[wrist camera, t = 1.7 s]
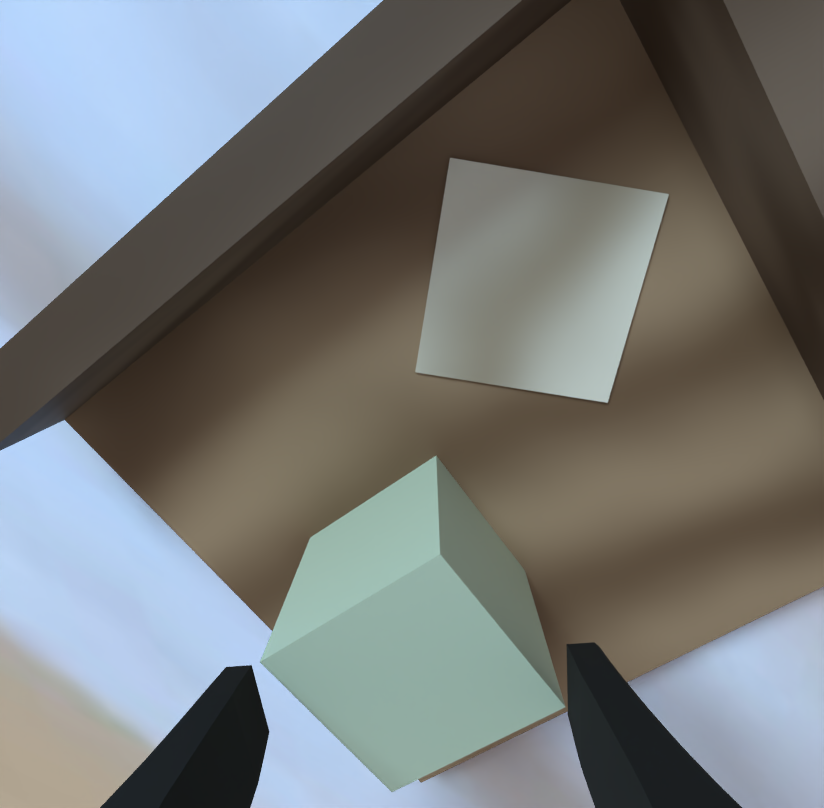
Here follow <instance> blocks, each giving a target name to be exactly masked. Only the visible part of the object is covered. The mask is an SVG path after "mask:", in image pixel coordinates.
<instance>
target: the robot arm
mask: <svg viewBox="0 0 824 808" xmlns="http://www.w3.org/2000/svg"><path fill="white" fill-rule="evenodd" d="M566 646H567V694H568V717H569V721H570V725H571V729H572V733H573V737H574V741H575V745H576V749H577V753H578V757H579V760H580V764H581V768H582V771H583V774H584V777H585V779H586V782H587V785H588V788H589V791H590V794H591V797H592V800H593V802H594V805H595V808H742V807H741V806H740V805H739V804H738V803H737V802H736V801H735V800H734V799H733V798H732V797H731V796H730V795H729V794H727V793H726V792H725V791H724V790H723V789H722V788H721V787H720V786H719V785H718V784H717V783H716V782H715V781H714V779H713V778H712V777H711V776H710V775H709V774H708V773H707V772H706V771H705V770H704V769H703V768H702V767H701V766H700V765H699V764H698V763H697V762H696V761H695V760H694V759H693V758H692V757H691V756H690V755H689V753H688V752H687V751H686V750H685V749H684V748H683V747H682V746H681V745H680V744H679V743H678V742H677V740H676V739H675V738H674V737H673V736H672V735H671V734H670V733H669V731H668V730H667V729H666V728H665V727H664V726H663V725H662V724H661V722H660V721H659V720H658V719H657V718H656V717H655V716H654V714H653V713H652V712H651V711H650V710H649V709H648V708H647V706H646V705H645V704H644V703H643V702H642V700H641V699H640V698H639V697H638V696H637V694H636V693H635V692H634V691H633V689H632V688H631V687H630V686H629V685H628V683H627V682H626V681H625V680H624V678H623V677H622V676H621V674H620V673H619V672H618V671H617V669H616V668H615V667H614V665H613V664H612V663H611V662H610V660H609V659H608V658H607V656H606V655H605V653H604V652H603V651H602V649H601V648H600V647H599V646H598V645H597V644H596V643H595V642H591V643H576V644H566ZM268 735H269V729H268V725H267V722H266V718H265V714H264V710H263V707H262V703H261V699H260V695H259V692H258V688H257V684H256V680H255V676H254V673H253V669H252V665H250V666H235V667H226V668H225V669H224V670H223V671H222V672H221V674H220V675H219V676H218V677H217V678H216V679H215V680H214V681H213V683H212V684H211V685H210V686H209V687H208V688H207V690H206V691H205V692H204V693H203V694H202V695H201V697H200V698H199V699H198V700H197V701H196V702H195V704H194V705H193V706H192V707H191V708H190V709H189V711H188V712H187V713H186V714H185V715H184V716H183V718H182V719H181V720H180V721H179V722H178V723H177V725H176V726H175V727H174V728H173V729H172V730H171V731H170V733H169V734H168V735H167V736H166V737H165V738H164V739H163V740H162V742H161V743H160V744H159V745H158V746H157V747H156V748H155V749H154V751H153V752H152V753H151V754H150V755H149V756H148V757H147V758H146V760H145V761H144V762H143V763H142V764H141V765H140V766H139V767H138V768H137V769H136V770H135V771H134V772H133V774H132V775H131V776H130V777H129V778H128V779H127V780H126V781H125V782H124V783H123V784H122V785H121V786H120V787H119V788H118V789H117V790H116V792H115V793H114V794H113V795H112V796H111V797H110V798H109V799H108V800H107V801H106V802H105V803H104V804H103V805H102V806H101V807H100V808H250V807H251V804H252V800H253V797H254V794H255V791H256V788H257V785H258V781H259V776H260V772H261V768H262V764H263V759H264V754H265V750H266V745H267V740H268Z"/></svg>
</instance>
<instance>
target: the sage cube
mask: <svg viewBox="0 0 824 808" xmlns="http://www.w3.org/2000/svg"><path fill="white" fill-rule="evenodd" d="M260 663H261V664H262V665H263V666H264V667H265V668H266V669H267V670H268V671H269V672H270V673H272V674H273V675H274V676H275V677H276V678H277V679H278V680H279V681H280V682H281V683H282V684H283V685H284V686H285V687H286V688H287V689H288V690H289V691H290V692H291V693H292V694H293V695H294V696H295V697H296V698H297V699H298V700H299V701H300V702H301V703H302V704H303V705H304V706H305V707H306V708H307V709H308V710H309V711H310V712H311V713H312V714H313V715H314V716H315V717H316V718H317V719H318V720H319V721H320V722H321V723H322V724H323V725H324V726H325V727H326V728H327V729H328V730H329V731H330V732H331V733H332V734H333V735H334V736H335V737H336V738H337V739H338V740H339V741H340V742H341V743H342V744H343V745H344V746H346V747H347V748H348V749H349V750H350V751H351V752H352V753H353V754H354V755H355V756H356V757H357V758H358V759H359V760H360V761H361V762H362V763H363V764H364V765H365V766H366V767H367V768H368V769H369V770H370V771H371V772H372V773H373V774H374V775H375V776H376V777H377V778H378V779H379V780H380V781H381V782H382V783H383V784H384V785H385V786H386V787H387V788H388V789H389V790H390V791H391V792H393V791H395V790H397V789H399V788H401V787H403V786H406V785H408V784H410V783H412V782H414V781H416V780H418V779H420V778H422V777H424V776H426V775H428V774H430V773H432V772H434V771H436V770H438V769H440V768H442V767H444V766H446V765H448V764H450V763H452V762H455V761H457V760H459V759H461V758H463V757H465V756H467V755H469V754H471V753H473V752H475V751H477V750H479V749H481V748H483V747H485V746H487V745H489V744H491V743H493V742H495V741H497V740H499V739H501V738H504V737H506V736H508V735H510V734H512V733H514V732H516V731H518V730H520V729H522V728H524V727H526V726H528V725H530V724H532V723H534V722H536V721H538V720H540V719H542V718H544V717H546V716H548V715H550V714H553V713H555V712H557V711H559V710H561V709H563V708H565V704H564V700H563V697H562V694H561V690H560V687H559V684H558V680H557V677H556V674H555V670H554V667H553V663H552V660H551V657H550V653H549V650H548V647H547V643H546V640H545V637H544V633H543V630H542V627H541V623H540V620H539V616H538V613H537V610H536V606H535V603H534V600H533V596H532V593H531V590H530V586H529V583H528V580H527V576H526V573H525V570H524V569H523V567H522V566H521V565H520V563H519V562H518V561H517V560H516V558H515V557H514V556H513V554H512V553H511V552H510V550H509V549H508V548H507V547H506V545H505V544H504V543H503V541H502V540H501V539H500V537H499V536H498V535H497V534H496V532H495V531H494V530H493V528H492V527H491V526H490V525H489V523H488V522H487V521H486V519H485V518H484V517H483V515H482V514H481V513H480V512H479V510H478V509H477V508H476V506H475V505H474V504H473V502H472V501H471V500H470V499H469V497H468V496H467V495H466V493H465V492H464V491H463V490H462V488H461V487H460V486H459V484H458V483H457V482H456V480H455V479H454V478H453V477H452V475H451V474H450V473H449V471H448V470H447V469H446V467H445V466H444V465H443V464H442V462H441V461H440V460H439V458H438V457H437V456H435V457H433V458H432V459H430V460H429V461H427V462H426V463H424V464H422V465H421V466H419V467H418V468H416V469H415V470H413V471H412V472H410V473H409V474H407V475H406V476H404V477H402V478H401V479H399V480H398V481H396V482H395V483H393V484H392V485H390V486H389V487H387V488H386V489H384V490H383V491H381V492H379V493H378V494H376V495H375V496H373V497H372V498H370V499H369V500H367V501H366V502H364V503H363V504H361V505H359V506H358V507H356V508H355V509H353V510H352V511H350V512H349V513H347V514H346V515H344V516H343V517H341V518H340V519H338V520H336V521H335V522H333V523H332V524H330V525H329V526H327V527H326V528H324V529H323V530H321V531H320V532H318V533H316V534H315V535H313V536H312V537H310V539H309V542H308V544H307V547H306V549H305V552H304V554H303V557H302V559H301V562H300V564H299V567H298V569H297V572H296V574H295V577H294V579H293V582H292V584H291V587H290V589H289V592H288V594H287V596H286V599H285V601H284V604H283V606H282V609H281V611H280V614H279V616H278V619H277V621H276V624H275V626H274V629H273V631H272V634H271V636H270V639H269V641H268V644H267V646H266V649H265V651H264V653H263V656H262V658H261V661H260Z"/></svg>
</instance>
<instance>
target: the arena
mask: <svg viewBox="0 0 824 808" xmlns="http://www.w3.org/2000/svg"><path fill="white" fill-rule="evenodd" d="M63 420H65V421H66V422H67V423H68V424H69V425H70V426H71V427H72V428H73V429H74V430H75V431H76V432H77V433H78V434H79V435H80V436H81V437H82V438H83V439H84V440H85V441H86V442H87V443H88V444H89V445H90V446H91V447H92V448H93V449H94V450H95V451H96V452H97V453H98V454H99V455H100V456H101V457H102V458H103V459H104V460H105V461H106V462H107V463H108V464H109V465H110V466H111V467H112V468H113V469H114V470H115V472H116V473H117V474H118V475H119V476H120V477H121V478H122V479H123V480H124V481H125V482H126V483H127V484H128V485H129V486H130V487H131V488H132V489H133V490H134V491H135V492H136V493H137V494H138V495H139V496H140V497H141V498H142V499H143V500H144V501H145V502H146V503H147V504H148V505H149V506H150V507H151V508H152V509H153V510H154V511H155V512H156V513H157V514H158V515H159V516H160V517H161V518H162V519H163V520H164V521H165V522H166V523H167V524H168V525H169V526H170V527H171V528H172V530H173V531H174V532H175V533H176V534H177V535H178V536H179V537H180V538H181V539H182V540H183V541H184V542H185V543H186V544H187V545H188V546H189V547H190V548H191V549H192V550H193V551H194V552H195V553H196V554H197V555H198V556H199V557H200V558H201V559H202V560H203V561H204V562H205V563H206V564H207V565H208V566H209V567H210V568H211V569H212V570H213V571H214V572H215V573H216V574H217V575H218V576H219V577H220V578H221V579H222V580H223V581H224V582H225V583H226V584H227V585H228V586H229V588H230V589H231V590H232V591H233V592H234V593H235V594H236V595H237V596H238V597H239V598H240V599H241V600H242V601H243V602H244V603H245V604H246V605H247V606H248V607H249V608H250V609H251V610H252V611H253V612H254V613H255V614H256V615H257V616H258V617H259V618H260V619H261V620H262V621H263V622H264V623H265V624H266V625H267V626H268V627H269V628H270V629H271V630H272V631H273V629H274V626H275V624H276V621H277V619H278V616H279V614H280V611H281V609H282V606H283V604H284V601H285V599H286V596H287V594H288V592H289V589H290V587H291V584H292V582H293V579H294V577H295V574H296V572H297V569H298V567H299V564H300V562H301V559H302V557H303V554H304V552H305V549H306V547H307V544H308V542H309V539H310V537H312V536H313V535H315V534H316V533H318V532H320V531H321V530H323V529H324V528H326V527H327V526H329V525H330V524H332V523H333V522H335V521H336V520H338V519H340V518H341V517H343V516H344V515H346V514H347V513H349V512H350V511H352V510H353V509H355V508H356V507H358V506H359V505H361V504H363V503H364V502H366V501H367V500H369V499H370V498H372V497H373V496H375V495H376V494H378V493H379V492H381V491H383V490H384V489H386V488H387V487H389V486H390V485H392V484H393V483H395V482H396V481H398V480H399V479H401V478H402V477H404V476H406V475H407V474H409V473H410V472H412V471H413V470H415V469H416V468H418V467H419V466H421V465H422V464H424V463H426V462H427V461H429V460H430V459H432V458H433V457H435V456H437V457H438V458H439V460H440V461H441V462H442V464H443V465H444V466H445V467H446V469H447V470H448V471H449V473H450V474H451V475H452V477H453V478H454V479H455V480H456V482H457V483H458V484H459V486H460V487H461V488H462V490H463V491H464V492H465V493H466V495H467V496H468V497H469V499H470V500H471V501H472V502H473V504H474V505H475V506H476V508H477V509H478V510H479V512H480V513H481V514H482V515H483V517H484V518H485V519H486V521H487V522H488V523H489V525H490V526H491V527H492V528H493V530H494V531H495V532H496V534H497V535H498V536H499V537H500V539H501V540H502V541H503V543H504V544H505V545H506V547H507V548H508V549H509V550H510V552H511V553H512V554H513V556H514V557H515V558H516V560H517V561H518V562H519V563H520V565H521V566H522V567H523V569H524V570H525V573H526V576H527V580H528V583H529V586H530V590H531V593H532V596H533V600H534V603H535V606H536V610H537V613H538V616H539V620H540V623H541V627H542V630H543V633H544V637H545V640H546V643H547V647H548V650H549V653H550V657H551V660H552V663H553V667H554V670H555V674H556V677H557V680H558V684H559V687H560V690H561V694H562V697H563V700H564V704H565V708H563V709H561V710H559V711H557V712H555V713H553V714H550V715H548V716H546V717H544V718H542V719H540V720H538V721H536V722H534V723H532V724H530V725H528V726H526V727H524V728H522V729H520V730H518V731H516V732H514V733H512V734H510V735H508V736H506V737H504V738H501V739H499V740H497V741H495V742H493V743H491V744H489V745H487V746H485V747H483V748H481V749H479V750H477V751H475V752H473V753H471V754H469V755H467V756H465V757H463V758H461V759H459V760H457V761H455V762H452V763H450V764H448V765H446V766H444V767H442V768H440V769H438V770H436V771H434V772H432V773H430V774H428V775H426V776H424V777H422V778H420V779H418V780H419V781H420V782H423V781H425V780H427V779H429V778H431V777H434V776H436V775H438V774H440V773H442V772H444V771H446V770H448V769H450V768H452V767H454V766H456V765H458V764H460V763H462V762H464V761H466V760H468V759H470V758H473V757H475V756H477V755H479V754H481V753H483V752H485V751H487V750H489V749H491V748H493V747H495V746H497V745H499V744H501V743H503V742H505V741H507V740H509V739H511V738H514V737H516V736H518V735H520V734H522V733H524V732H526V731H528V730H530V729H532V728H534V727H536V726H538V725H540V724H542V723H544V722H546V721H548V720H550V719H553V718H555V717H557V716H559V715H561V714H563V713H565V712H567V711H568V694H567V646H566V644H576V643H591V642H595V643H596V644H597V645H598V646H599V647H600V648H601V649H602V651H603V652H604V653H605V655H606V656H607V658H608V659H609V660H610V662H611V663H612V664H613V665H614V667H615V668H616V669H617V671H618V672H619V673H620V674H621V676H622V677H623V678H624V680H625V681H626V682H628V681H630V680H633V679H635V678H637V677H639V676H641V675H643V674H645V673H647V672H649V671H651V670H653V669H655V668H657V667H659V666H661V665H663V664H665V663H667V662H669V661H672V660H674V659H676V658H678V657H680V656H682V655H684V654H686V653H688V652H690V651H692V650H694V649H696V648H698V647H700V646H702V645H704V644H706V643H708V642H711V641H713V640H715V639H717V638H719V637H721V636H723V635H725V634H727V633H729V632H731V631H733V630H735V629H737V628H739V627H741V626H743V625H745V624H747V623H750V622H752V621H754V620H756V619H758V618H760V617H762V616H764V615H766V614H768V613H770V612H772V611H774V610H776V609H778V608H780V607H782V606H784V605H786V604H788V603H791V602H793V601H795V600H797V599H799V598H801V597H803V596H805V595H807V594H809V593H811V592H813V591H815V590H817V589H819V588H821V587H823V586H824V0H383V1H382V2H381V3H380V4H379V5H378V6H377V7H375V8H374V9H373V10H372V11H371V12H370V13H369V14H368V15H367V16H366V17H364V18H363V19H362V20H361V21H360V22H359V23H358V24H357V25H356V26H355V27H353V28H352V29H351V30H350V31H349V32H348V33H347V34H346V35H345V36H344V37H342V38H341V39H340V40H339V41H338V42H337V43H336V44H335V45H334V46H333V47H331V48H330V49H329V50H328V51H327V52H326V53H325V54H324V55H323V56H322V57H320V58H319V59H318V60H317V61H316V62H315V63H314V64H313V65H312V66H311V67H309V68H308V69H307V70H306V71H305V72H304V73H303V74H302V75H301V76H300V77H298V78H297V79H296V80H295V81H294V82H293V83H292V84H291V85H290V86H289V87H287V88H286V89H285V90H284V91H283V92H282V93H281V94H280V95H279V96H278V97H276V98H275V99H274V100H273V101H272V102H271V103H270V104H269V105H268V106H267V107H265V108H264V109H263V110H262V111H261V112H260V113H259V114H258V115H257V116H256V117H254V118H253V119H252V120H251V121H250V122H249V123H248V124H247V125H246V126H245V127H243V128H242V129H241V130H240V131H239V132H238V133H237V134H236V135H235V136H234V137H232V138H231V139H230V140H229V141H228V142H227V143H226V144H225V145H224V146H223V147H221V148H220V149H219V150H218V151H217V152H216V153H215V154H214V155H213V156H212V157H210V158H209V159H208V160H207V161H206V162H205V163H204V164H203V165H202V166H201V167H199V168H198V169H197V170H196V171H195V172H194V173H193V174H192V175H191V176H190V177H189V178H187V179H186V180H185V181H184V182H183V183H182V184H181V185H180V186H179V187H178V188H176V189H175V190H174V191H173V192H172V193H171V194H170V195H169V196H168V197H167V198H165V199H164V200H163V201H162V202H161V203H160V204H159V205H158V206H157V207H156V208H154V209H153V210H152V211H151V212H150V213H149V214H148V215H147V216H146V217H145V218H143V219H142V220H141V221H140V222H139V223H138V224H137V225H136V226H135V227H134V228H132V229H131V230H130V231H129V232H128V233H127V234H126V235H125V236H124V237H123V238H121V239H120V240H119V241H118V242H117V243H116V244H115V245H114V246H113V247H112V248H110V249H109V250H108V251H107V252H106V253H105V254H104V255H103V256H102V257H101V258H99V259H98V260H97V261H96V262H95V263H94V264H93V265H92V266H91V267H90V268H88V269H87V270H86V271H85V272H84V273H83V274H82V275H81V276H80V277H79V278H77V279H76V280H75V281H74V282H73V283H72V284H71V285H70V286H69V287H68V288H66V289H65V290H64V291H63V292H62V293H61V294H60V295H59V296H58V297H57V298H55V299H54V300H53V301H52V302H51V303H50V304H49V305H48V306H47V307H46V308H44V309H43V310H42V311H41V312H40V313H39V314H38V315H37V316H36V317H35V318H33V319H32V320H31V321H30V322H29V323H28V324H27V325H26V326H25V327H24V328H22V329H21V330H20V331H19V332H18V333H17V334H16V335H15V336H14V337H13V338H11V339H10V340H9V341H8V342H7V343H6V344H5V345H4V346H3V347H2V348H0V450H2V449H4V448H6V447H9V446H11V445H13V444H15V443H17V442H19V441H21V440H23V439H25V438H27V437H29V436H32V435H34V434H36V433H38V432H40V431H42V430H44V429H46V428H48V427H50V426H52V425H55V424H57V423H59V422H61V421H63Z"/></svg>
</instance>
